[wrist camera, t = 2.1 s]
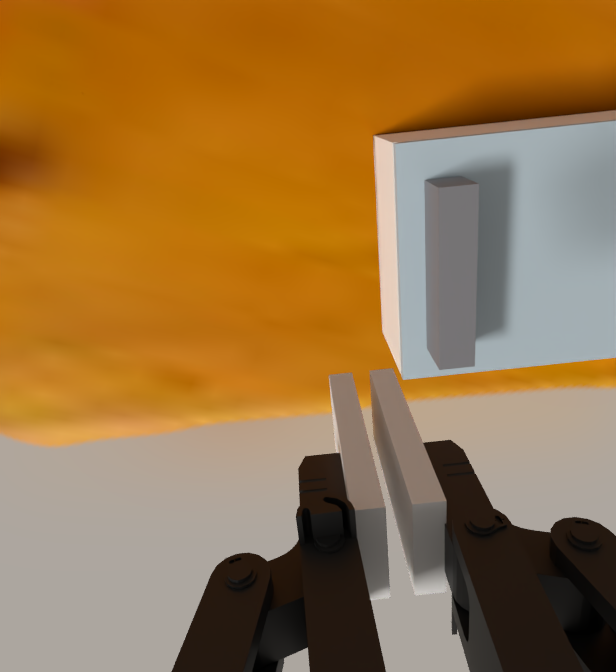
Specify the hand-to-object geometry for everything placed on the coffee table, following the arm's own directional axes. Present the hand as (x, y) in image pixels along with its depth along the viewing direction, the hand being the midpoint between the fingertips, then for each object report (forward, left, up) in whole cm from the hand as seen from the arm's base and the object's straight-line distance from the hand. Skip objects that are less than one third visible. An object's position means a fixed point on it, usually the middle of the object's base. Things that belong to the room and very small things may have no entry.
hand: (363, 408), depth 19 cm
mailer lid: (-10, -9, -15) cm, 21 cm away
